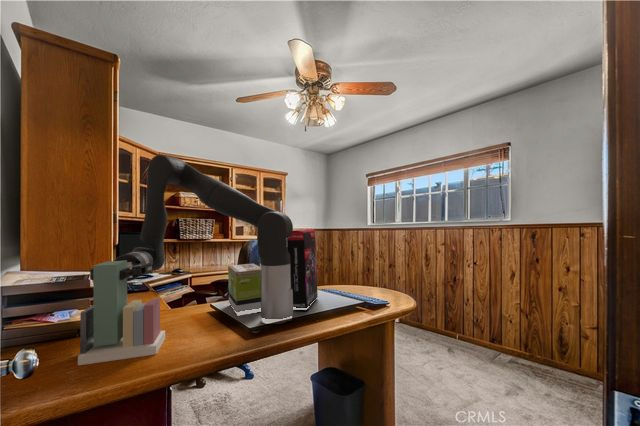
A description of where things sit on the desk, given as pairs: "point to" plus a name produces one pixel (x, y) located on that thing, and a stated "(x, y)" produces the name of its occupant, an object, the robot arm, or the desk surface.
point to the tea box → (244, 287)
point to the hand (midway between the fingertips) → (108, 276)
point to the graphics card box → (303, 267)
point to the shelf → (119, 351)
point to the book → (109, 302)
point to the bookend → (86, 330)
